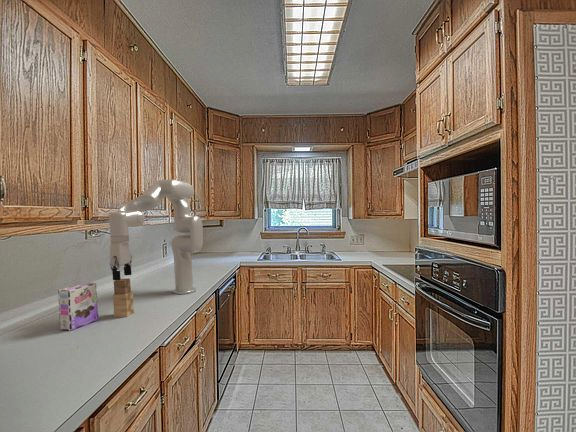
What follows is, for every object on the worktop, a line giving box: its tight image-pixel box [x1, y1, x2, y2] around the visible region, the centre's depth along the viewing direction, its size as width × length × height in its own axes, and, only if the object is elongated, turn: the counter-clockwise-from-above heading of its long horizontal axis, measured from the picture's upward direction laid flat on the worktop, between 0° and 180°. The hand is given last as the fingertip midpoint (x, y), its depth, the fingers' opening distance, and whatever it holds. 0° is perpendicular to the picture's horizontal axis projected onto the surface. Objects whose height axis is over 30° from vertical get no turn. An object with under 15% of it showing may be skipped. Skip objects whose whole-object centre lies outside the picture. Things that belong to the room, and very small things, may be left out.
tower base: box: [113, 302, 135, 318], centre depth 166 cm, size 6×6×5 cm
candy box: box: [57, 282, 99, 332], centre depth 153 cm, size 14×6×16 cm, turn 161°
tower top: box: [112, 290, 134, 307], centre depth 166 cm, size 6×6×5 cm
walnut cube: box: [113, 278, 132, 295], centre depth 165 cm, size 5×5×6 cm
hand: (122, 277), depth 166 cm, fingers open, 9 cm apart
